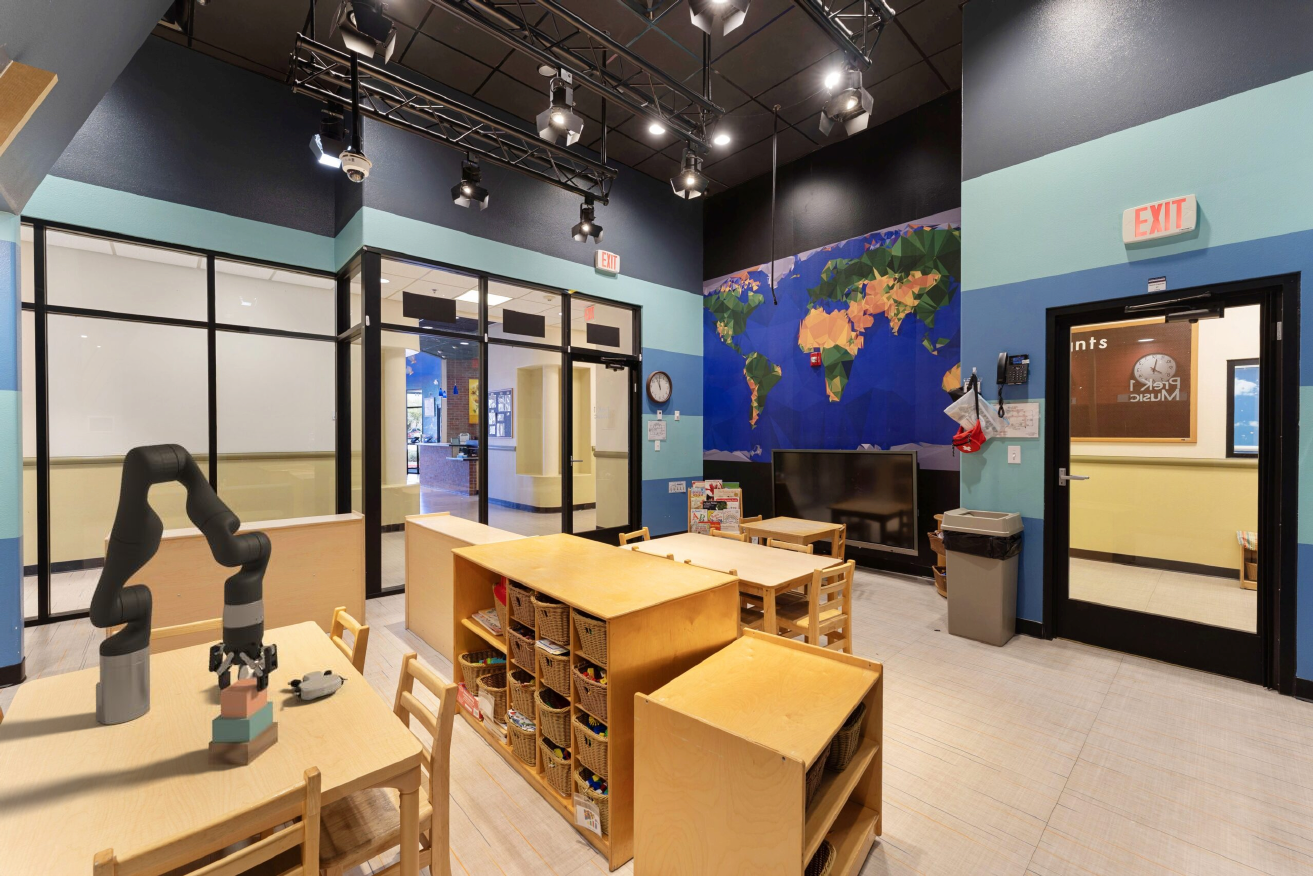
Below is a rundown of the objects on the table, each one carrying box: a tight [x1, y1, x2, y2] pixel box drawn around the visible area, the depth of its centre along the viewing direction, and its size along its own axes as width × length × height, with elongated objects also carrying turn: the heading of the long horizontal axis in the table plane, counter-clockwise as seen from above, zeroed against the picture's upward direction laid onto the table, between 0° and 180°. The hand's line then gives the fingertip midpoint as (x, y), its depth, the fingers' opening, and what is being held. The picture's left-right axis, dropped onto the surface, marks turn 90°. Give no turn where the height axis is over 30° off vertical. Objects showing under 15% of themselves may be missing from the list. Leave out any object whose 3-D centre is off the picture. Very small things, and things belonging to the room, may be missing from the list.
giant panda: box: [237, 659, 269, 688], centre depth 153 cm, size 15×6×10 cm, turn 50°
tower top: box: [211, 701, 274, 743], centre depth 124 cm, size 8×8×5 cm
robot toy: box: [287, 669, 349, 701], centre depth 153 cm, size 12×4×15 cm
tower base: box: [208, 721, 279, 766], centre depth 124 cm, size 9×9×5 cm
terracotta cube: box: [220, 678, 268, 718], centre depth 124 cm, size 6×6×6 cm
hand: (243, 689), depth 124 cm, fingers open, 8 cm apart
